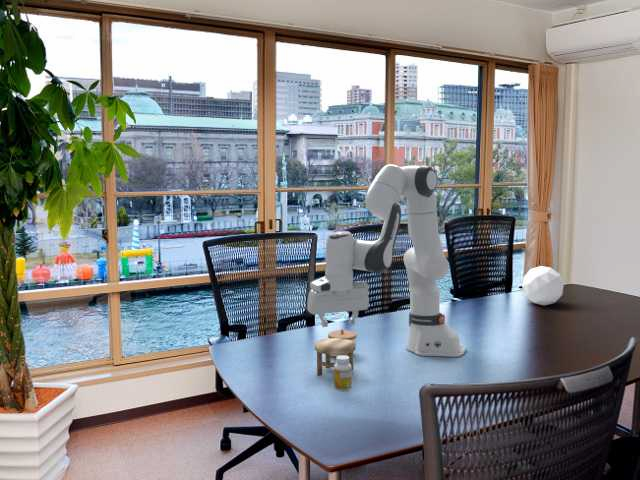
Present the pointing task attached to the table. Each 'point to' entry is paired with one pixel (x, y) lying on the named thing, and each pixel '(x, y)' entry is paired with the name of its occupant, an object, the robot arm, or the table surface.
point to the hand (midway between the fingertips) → (338, 325)
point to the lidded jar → (343, 335)
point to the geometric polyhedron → (543, 285)
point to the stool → (333, 351)
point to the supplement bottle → (342, 373)
